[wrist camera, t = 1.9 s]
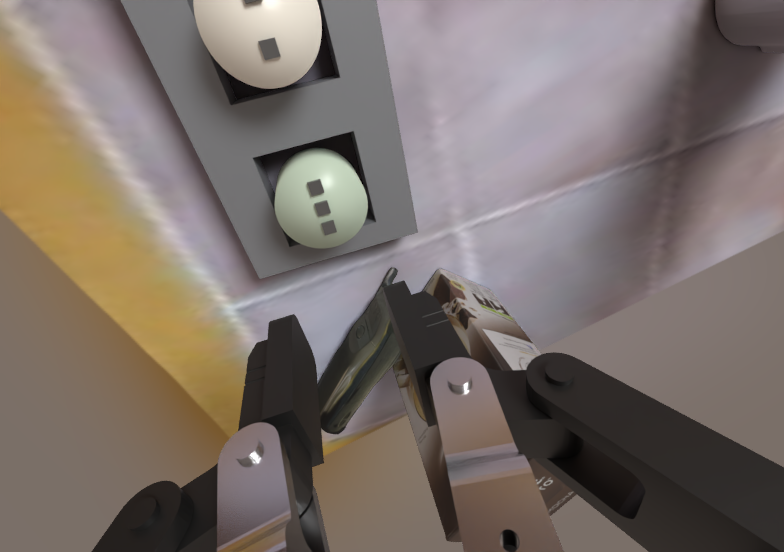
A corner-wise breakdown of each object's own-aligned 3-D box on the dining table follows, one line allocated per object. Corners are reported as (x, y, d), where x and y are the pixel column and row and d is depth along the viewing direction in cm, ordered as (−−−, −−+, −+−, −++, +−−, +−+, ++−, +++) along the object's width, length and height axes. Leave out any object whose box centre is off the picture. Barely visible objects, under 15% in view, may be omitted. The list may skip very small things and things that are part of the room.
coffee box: (435, 265, 30) (553, 440, 16) (492, 289, 33) (631, 455, 19) (381, 345, 33) (443, 546, 20) (437, 361, 36) (524, 546, 23)
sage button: (262, 160, 21) (258, 177, 18) (347, 137, 21) (355, 150, 18) (293, 236, 23) (293, 260, 21) (367, 215, 24) (377, 235, 21)
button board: (-65, -423, 11) (-143, -526, 9) (277, -465, 12) (274, -567, 10) (262, 260, 26) (259, 279, 24) (408, 218, 27) (417, 232, 25)
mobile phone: (345, 441, 32) (434, 311, 26) (312, 437, 30) (398, 299, 24) (339, 394, 36) (415, 273, 30) (310, 390, 34) (383, 262, 28)
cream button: (186, -30, 16) (165, -46, 13) (297, -55, 16) (298, -75, 14) (236, 93, 19) (227, 101, 16) (330, 70, 19) (336, 73, 16)
